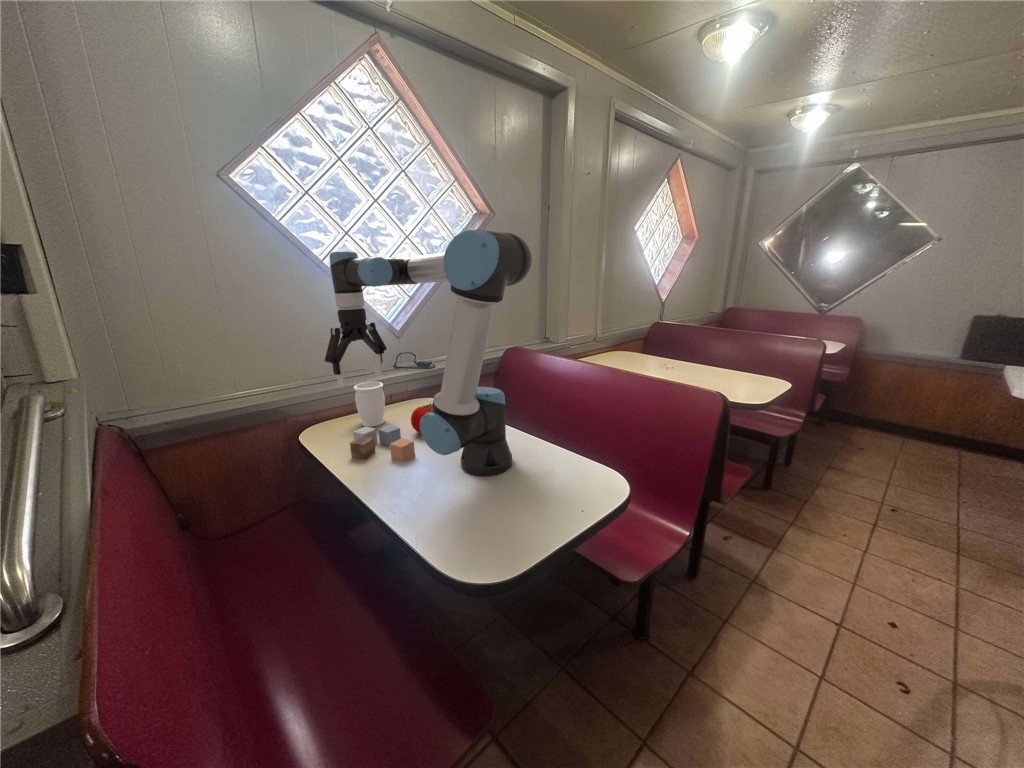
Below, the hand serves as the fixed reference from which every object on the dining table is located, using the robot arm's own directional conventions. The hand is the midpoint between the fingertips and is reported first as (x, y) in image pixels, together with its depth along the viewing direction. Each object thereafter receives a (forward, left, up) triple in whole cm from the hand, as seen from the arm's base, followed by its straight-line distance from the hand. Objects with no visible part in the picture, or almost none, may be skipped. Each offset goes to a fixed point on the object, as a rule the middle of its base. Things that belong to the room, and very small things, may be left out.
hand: (361, 379), depth 119 cm
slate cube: (0, -8, -24) cm, 25 cm away
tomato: (-6, -21, -24) cm, 33 cm away
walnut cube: (0, +3, -24) cm, 24 cm away
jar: (+19, -17, -24) cm, 35 cm away
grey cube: (+6, -3, -24) cm, 25 cm away
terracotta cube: (-12, -2, -24) cm, 27 cm away
